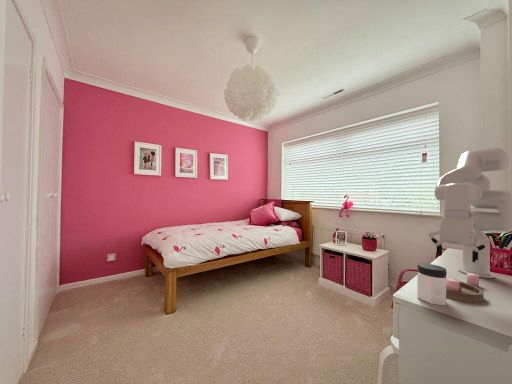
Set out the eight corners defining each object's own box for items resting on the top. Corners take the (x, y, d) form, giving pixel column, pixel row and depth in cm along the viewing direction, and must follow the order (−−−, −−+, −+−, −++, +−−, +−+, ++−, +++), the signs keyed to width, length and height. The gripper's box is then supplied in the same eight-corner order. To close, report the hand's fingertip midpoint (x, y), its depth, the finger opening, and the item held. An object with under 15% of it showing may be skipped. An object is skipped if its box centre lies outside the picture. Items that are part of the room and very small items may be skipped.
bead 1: (447, 289, 82) (447, 278, 83) (459, 293, 80) (459, 281, 80) (445, 292, 80) (445, 280, 80) (458, 295, 77) (458, 283, 78)
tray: (433, 281, 94) (433, 274, 94) (484, 294, 82) (484, 287, 82) (424, 290, 84) (424, 283, 84) (481, 307, 72) (481, 298, 72)
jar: (424, 303, 73) (425, 269, 73) (411, 293, 81) (411, 262, 81) (453, 306, 72) (454, 271, 72) (436, 295, 80) (437, 264, 80)
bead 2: (467, 282, 94) (467, 272, 94) (479, 285, 91) (479, 275, 91) (466, 284, 91) (466, 274, 91) (478, 287, 88) (478, 276, 89)
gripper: (490, 216, 78) (489, 262, 78) (430, 212, 91) (430, 251, 91) (489, 217, 73) (488, 266, 73) (426, 213, 86) (426, 254, 86)
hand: (456, 258), depth 82 cm, fingers open, 9 cm apart
